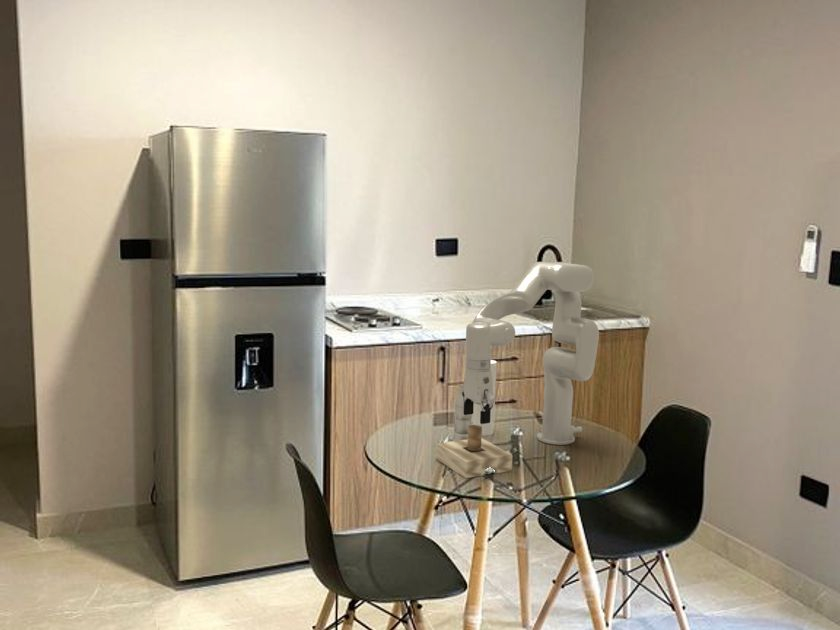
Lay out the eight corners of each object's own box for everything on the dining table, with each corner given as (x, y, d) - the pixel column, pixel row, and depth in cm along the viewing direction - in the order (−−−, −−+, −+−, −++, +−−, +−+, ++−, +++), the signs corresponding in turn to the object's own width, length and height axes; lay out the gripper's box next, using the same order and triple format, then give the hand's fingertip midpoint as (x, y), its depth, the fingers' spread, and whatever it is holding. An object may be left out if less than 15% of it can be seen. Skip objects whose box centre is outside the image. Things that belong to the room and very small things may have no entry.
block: (480, 452, 273) (481, 437, 272) (511, 470, 257) (512, 454, 256) (436, 459, 265) (436, 443, 265) (465, 478, 250) (466, 461, 249)
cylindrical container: (493, 436, 290) (497, 364, 286) (472, 435, 291) (476, 363, 286) (492, 429, 297) (495, 359, 293) (472, 428, 298) (475, 358, 293)
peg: (475, 461, 264) (477, 424, 262) (483, 466, 260) (484, 428, 258) (463, 463, 262) (465, 425, 260) (470, 468, 258) (472, 429, 256)
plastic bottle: (456, 449, 275) (458, 389, 271) (449, 443, 281) (452, 384, 278) (475, 448, 277) (477, 388, 273) (468, 442, 283) (470, 383, 280)
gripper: (504, 369, 250) (502, 425, 253) (473, 356, 265) (472, 409, 268) (482, 371, 247) (480, 428, 250) (452, 358, 262) (451, 412, 265)
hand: (476, 418), depth 259 cm, fingers open, 9 cm apart
